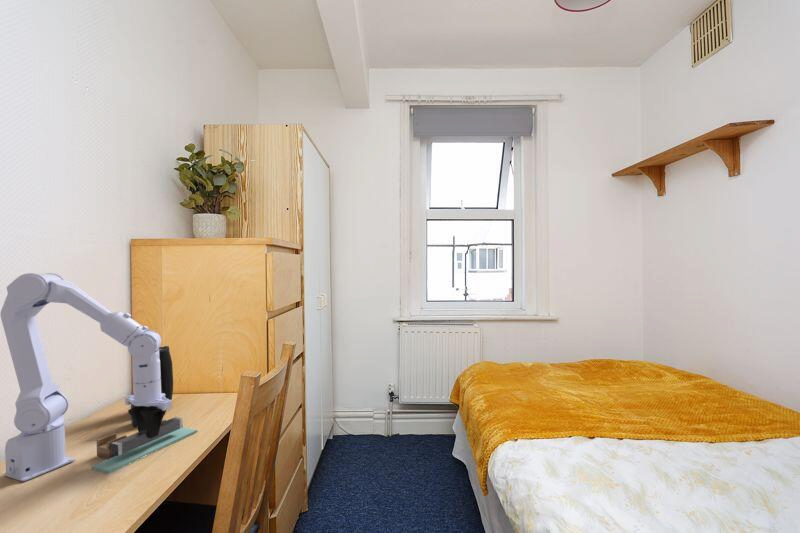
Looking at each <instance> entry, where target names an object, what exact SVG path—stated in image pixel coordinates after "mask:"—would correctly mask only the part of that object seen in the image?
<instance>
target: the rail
mask: <svg viewBox="0 0 800 533" xmlns="http://www.w3.org/2000/svg"><path fill="white" fill-rule="evenodd" d="M183 422H184V421H183V417H180V416H175V417H172V418H169V419H168V420H166V421H164V422H162V423H161V426H160V430H159V434H158V436H155V437H153V438H148V435H147V429H145V430H142V431H140V432H135V433H132V434H131V435H128V436H127V437H125V438H123V439H120V440H118V441H116V442H113V443H111V454H112V455H117V456H120V455H122V454H124V453H126V452H128V451H131V450H133V449H135V448H137V447H140V446H142V445H144V444H146V443H149V442H151V441H153V440H155V439H158V438H160V437H162V436H164V435H167V434H169V433H171V432H173V431H176V430H178V429H180V428H183V427H184V426H183V425H184V424H183Z"/></svg>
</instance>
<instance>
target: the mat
mask: <svg viewBox="0 0 800 533" xmlns="http://www.w3.org/2000/svg"><path fill="white" fill-rule="evenodd" d="M196 433H198V429H195V428H189V427H188V428H187V427H184V426H183V428H180V429H178V430H176V431H173V432H171V433H169V434H167V435H164V436H162V437H160V438H158V439H155V440H153V441H151V442H149V443H146V444H144V445H142V446H140V447H137V448H135V449H133V450H131V451H128V452H126V453H124V454H122V455H120V456H114V457H112V458H110V459H108V460H107V459H104V460H103V461H101V462H98V463H97V464H94V465H91V470H93V469H94V471H97V470H98V472H101V471H102V472H101V473H104V472H105V473H104V474H108V473H109V474H111V473H113V472H116V471H118V470H120V469H122V468H124V467H126V466H128V465H130V464H129V463H131V464H133V463H135V462H136V461H135V460H137V459H139V460H141V459H142V458H141V457H143V456H145V455H148V454H150V453H152V452H154V451H156V450H158V451H160V450H162V449H164V447H165V448H166V446H167V447H168V445H169V446H170V445H173V444H176V443H177V442H180V441H181V440H184V439H186V438H188V437H190V436H192V435H194V434H196ZM161 448H162V449H161ZM159 449H160V450H159ZM156 452H157V451H156ZM154 453H155V452H154ZM152 454H153V453H152ZM150 455H151V454H150ZM148 456H149V455H148ZM145 457H146V456H145ZM140 458H141V459H140ZM143 458H144V457H143ZM134 461H135V462H134ZM137 461H138V460H137ZM132 462H133V463H132ZM123 466H124V467H123ZM121 467H122V468H121ZM119 468H120V469H119ZM117 469H118V470H117ZM115 470H116V471H115ZM110 472H111V473H110Z"/></svg>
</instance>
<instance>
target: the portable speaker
mask: <svg viewBox="0 0 800 533" xmlns="http://www.w3.org/2000/svg"><path fill="white" fill-rule="evenodd" d="M158 350H159V355H160V356H159V359H160V372H161V393H164V394H165V398H167V399H169V400H173V393H174V374H173V373H174V372H173V371H174V370H173V368H174V367H173V361H172V355H171V352H170V346H169V345H164V346H160V347H159V349H158ZM158 350H157V351H158ZM155 352H156V351H155Z"/></svg>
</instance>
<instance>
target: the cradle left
mask: <svg viewBox="0 0 800 533" xmlns="http://www.w3.org/2000/svg"><path fill="white" fill-rule="evenodd" d="M125 437H128V436H127V435H125V434H124V435H122V436H120V437H117V433H116V432H115V433H112V434H109V435H106V436H104V437H101V438H98V439H96V457H97V458H100V459H103V460H108V459H110V458H112V457H114V456H117V455H112V454H111V443H113V442H116V441H118V440H120V439H123V438H125Z"/></svg>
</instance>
